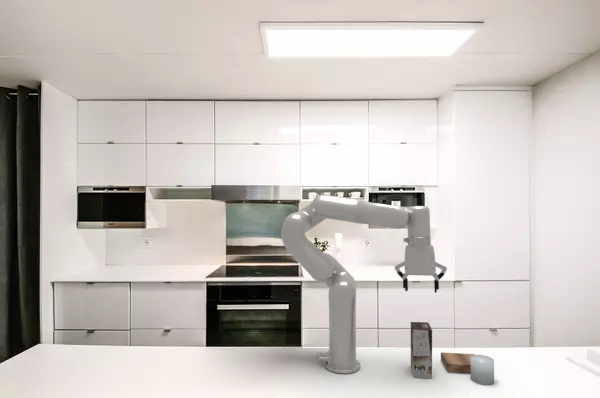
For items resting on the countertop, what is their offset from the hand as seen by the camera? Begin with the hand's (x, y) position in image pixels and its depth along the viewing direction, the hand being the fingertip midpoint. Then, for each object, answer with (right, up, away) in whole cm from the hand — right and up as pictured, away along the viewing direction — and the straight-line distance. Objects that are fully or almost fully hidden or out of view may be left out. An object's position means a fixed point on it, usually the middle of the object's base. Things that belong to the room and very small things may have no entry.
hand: (421, 291), depth 131 cm
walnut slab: (+16, -28, +4) cm, 32 cm away
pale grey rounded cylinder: (+18, -28, -6) cm, 34 cm away
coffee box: (0, -28, 0) cm, 28 cm away
